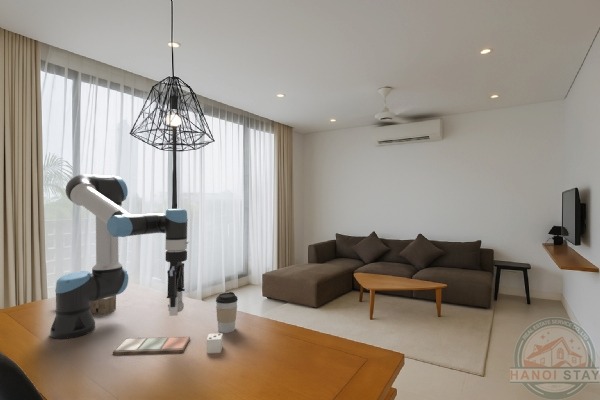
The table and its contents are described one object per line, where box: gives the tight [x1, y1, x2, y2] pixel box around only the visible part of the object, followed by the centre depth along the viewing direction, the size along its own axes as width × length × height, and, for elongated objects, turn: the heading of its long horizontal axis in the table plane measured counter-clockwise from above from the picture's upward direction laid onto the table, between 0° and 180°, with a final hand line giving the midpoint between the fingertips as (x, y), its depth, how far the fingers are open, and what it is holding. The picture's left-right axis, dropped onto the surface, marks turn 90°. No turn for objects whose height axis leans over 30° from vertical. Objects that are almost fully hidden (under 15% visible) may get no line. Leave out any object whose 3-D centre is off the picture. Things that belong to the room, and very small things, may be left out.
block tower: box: [90, 295, 117, 315], centre depth 160 cm, size 8×8×29 cm
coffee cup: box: [215, 291, 238, 334], centre depth 138 cm, size 9×9×15 cm
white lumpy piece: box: [167, 291, 185, 313], centre depth 122 cm, size 5×7×8 cm
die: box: [206, 332, 224, 354], centre depth 120 cm, size 5×5×5 cm
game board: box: [112, 336, 191, 356], centre depth 122 cm, size 24×11×1 cm, turn 96°
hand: (176, 311), depth 122 cm, fingers closed on white lumpy piece, 6 cm apart
